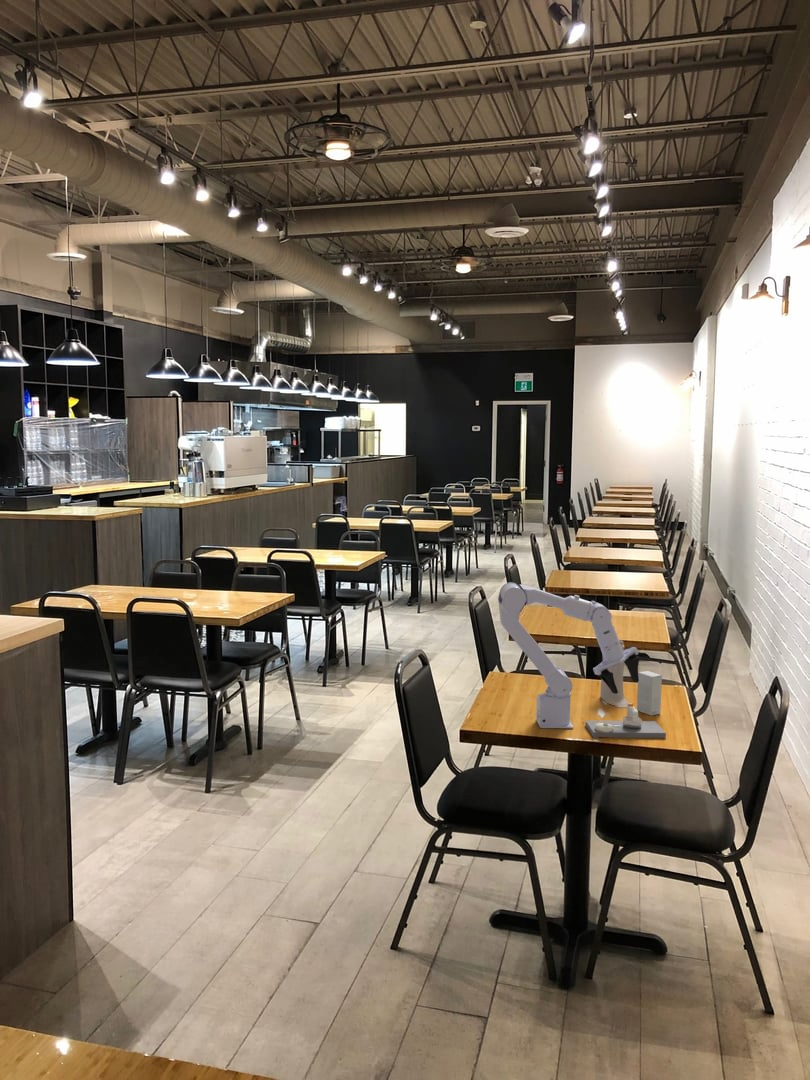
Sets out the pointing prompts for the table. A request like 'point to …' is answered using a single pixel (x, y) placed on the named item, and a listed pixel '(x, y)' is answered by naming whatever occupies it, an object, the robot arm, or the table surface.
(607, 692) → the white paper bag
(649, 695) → the skincare box
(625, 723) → the knob
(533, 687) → the table surface
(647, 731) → the base
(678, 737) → the table surface
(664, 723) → the table surface
